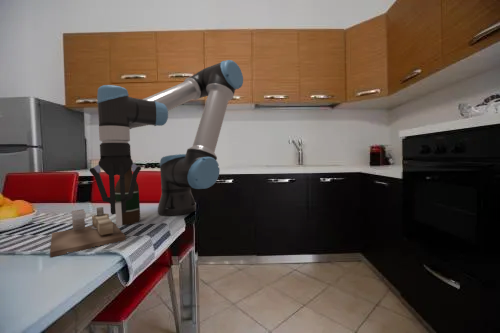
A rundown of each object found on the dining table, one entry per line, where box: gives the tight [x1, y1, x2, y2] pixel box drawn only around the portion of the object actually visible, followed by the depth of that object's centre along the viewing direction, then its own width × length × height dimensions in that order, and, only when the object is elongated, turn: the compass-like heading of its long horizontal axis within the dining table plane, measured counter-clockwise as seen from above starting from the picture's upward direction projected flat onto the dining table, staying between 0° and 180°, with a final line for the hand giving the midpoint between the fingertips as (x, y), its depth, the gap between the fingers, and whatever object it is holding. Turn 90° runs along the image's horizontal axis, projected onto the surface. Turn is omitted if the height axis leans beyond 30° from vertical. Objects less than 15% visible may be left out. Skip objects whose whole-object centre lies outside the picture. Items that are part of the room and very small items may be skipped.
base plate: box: [49, 221, 126, 258], centre depth 68 cm, size 16×19×1 cm
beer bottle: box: [115, 167, 141, 226], centre depth 84 cm, size 8×8×24 cm
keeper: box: [71, 209, 97, 231], centre depth 74 cm, size 10×7×6 cm
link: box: [91, 206, 114, 235], centre depth 71 cm, size 14×4×5 cm, turn 39°
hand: (119, 224), depth 68 cm, fingers closed
